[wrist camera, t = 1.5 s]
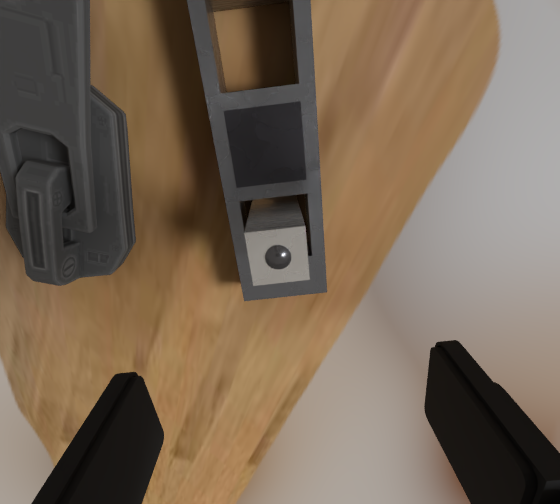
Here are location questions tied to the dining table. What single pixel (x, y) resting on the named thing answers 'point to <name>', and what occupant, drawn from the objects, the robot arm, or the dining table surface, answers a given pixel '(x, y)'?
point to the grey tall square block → (276, 241)
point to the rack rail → (265, 140)
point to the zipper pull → (60, 146)
